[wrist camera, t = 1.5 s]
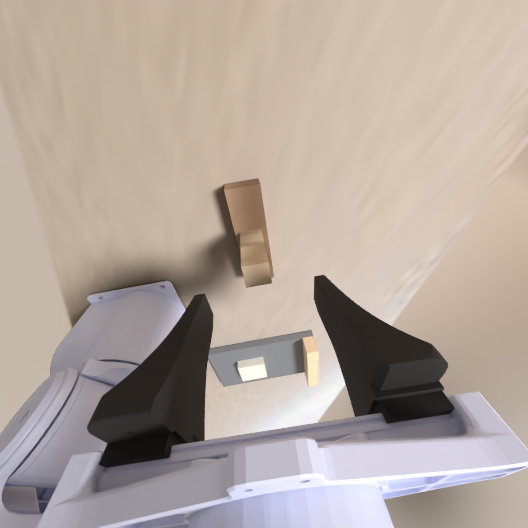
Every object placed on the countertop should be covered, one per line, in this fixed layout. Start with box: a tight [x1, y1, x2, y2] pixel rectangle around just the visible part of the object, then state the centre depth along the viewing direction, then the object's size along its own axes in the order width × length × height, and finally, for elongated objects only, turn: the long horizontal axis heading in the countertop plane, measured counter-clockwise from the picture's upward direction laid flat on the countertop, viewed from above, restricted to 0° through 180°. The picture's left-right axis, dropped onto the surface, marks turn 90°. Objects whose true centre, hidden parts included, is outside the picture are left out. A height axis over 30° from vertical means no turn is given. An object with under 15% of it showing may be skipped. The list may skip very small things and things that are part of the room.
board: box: [208, 330, 319, 387], centre depth 33 cm, size 16×10×4 cm, turn 98°
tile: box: [238, 357, 267, 381], centre depth 34 cm, size 4×4×1 cm
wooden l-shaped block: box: [224, 178, 274, 288], centre depth 19 cm, size 3×10×8 cm, turn 8°
